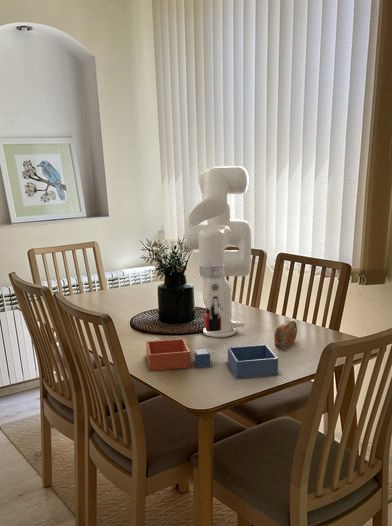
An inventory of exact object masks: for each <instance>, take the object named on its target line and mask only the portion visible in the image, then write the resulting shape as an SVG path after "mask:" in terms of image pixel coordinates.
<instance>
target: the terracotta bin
mask: <svg viewBox="0 0 392 526" xmlns="http://www.w3.org/2000/svg"><path fill="white" fill-rule="evenodd" d="M145 346H146V347H145V348H146V358H147V363H148V367H149V372H151V371H153V372H154V371H162V370H163V371H164V370H175V369H187V368H188V369H189V368H191V351H190V349H189V347H188V345H187V342H186V339H185V338H174V339H161V340H147V341H145Z"/></svg>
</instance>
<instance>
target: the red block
mask: <svg viewBox="0 0 392 526" xmlns="http://www.w3.org/2000/svg"><path fill="white" fill-rule="evenodd" d="M209 319H210V313H206V312H205V313H203V326H204V328H205V329H206V331H207V332H208V331H209ZM219 319H220V330H221V316H220V315H219ZM220 330H219V331H220Z"/></svg>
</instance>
